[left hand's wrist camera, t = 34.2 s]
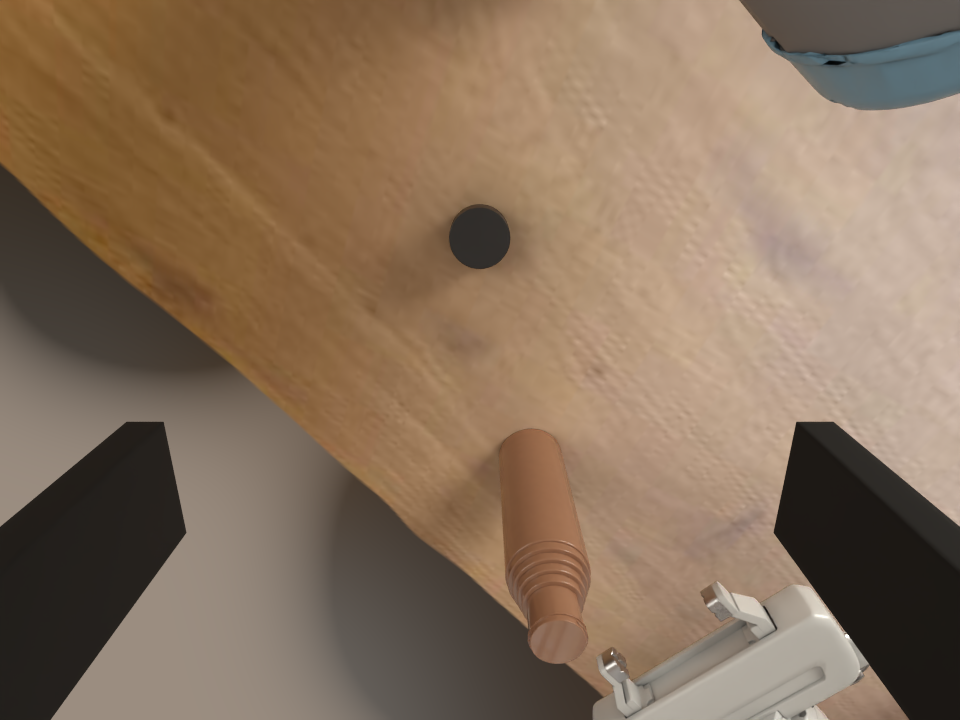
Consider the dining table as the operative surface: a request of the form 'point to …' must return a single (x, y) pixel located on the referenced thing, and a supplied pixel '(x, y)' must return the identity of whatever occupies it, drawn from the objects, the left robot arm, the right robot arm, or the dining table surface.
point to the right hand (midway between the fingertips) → (656, 626)
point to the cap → (479, 236)
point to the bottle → (543, 545)
